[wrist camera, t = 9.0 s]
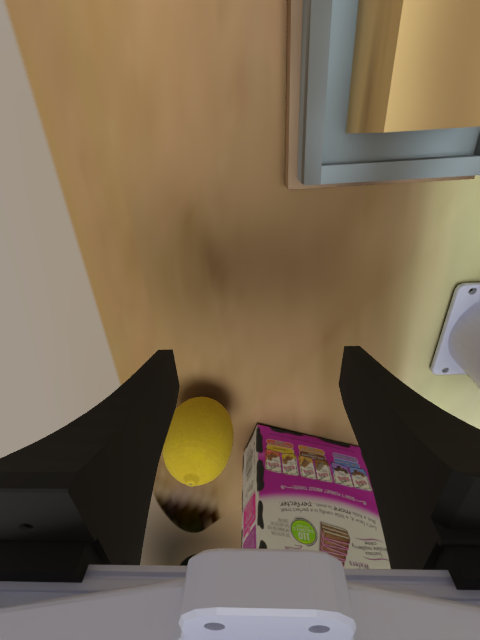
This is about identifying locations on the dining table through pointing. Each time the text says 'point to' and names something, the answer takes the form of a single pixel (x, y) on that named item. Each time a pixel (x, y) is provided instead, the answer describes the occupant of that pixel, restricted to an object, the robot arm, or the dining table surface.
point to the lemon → (198, 441)
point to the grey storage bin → (332, 108)
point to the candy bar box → (310, 498)
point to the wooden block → (415, 66)
